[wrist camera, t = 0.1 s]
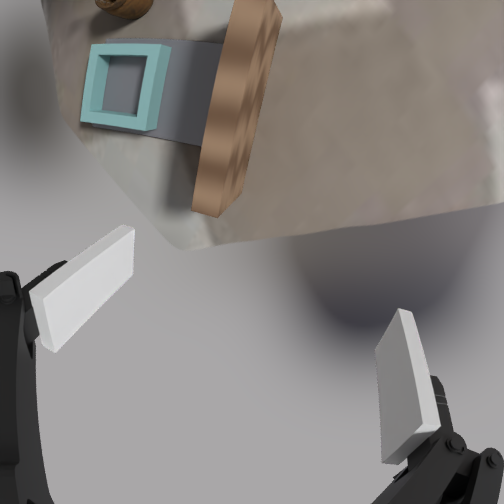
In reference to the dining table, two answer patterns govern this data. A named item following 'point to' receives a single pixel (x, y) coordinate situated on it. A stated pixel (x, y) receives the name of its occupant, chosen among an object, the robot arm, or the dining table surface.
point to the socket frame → (149, 91)
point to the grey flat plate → (166, 88)
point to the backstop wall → (235, 104)
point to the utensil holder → (125, 7)
